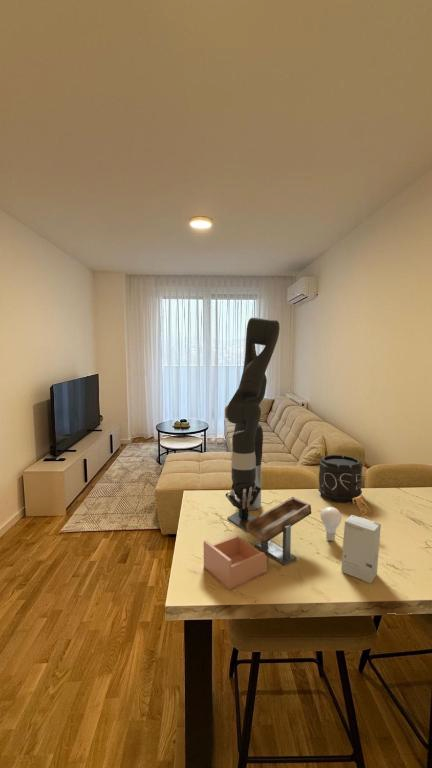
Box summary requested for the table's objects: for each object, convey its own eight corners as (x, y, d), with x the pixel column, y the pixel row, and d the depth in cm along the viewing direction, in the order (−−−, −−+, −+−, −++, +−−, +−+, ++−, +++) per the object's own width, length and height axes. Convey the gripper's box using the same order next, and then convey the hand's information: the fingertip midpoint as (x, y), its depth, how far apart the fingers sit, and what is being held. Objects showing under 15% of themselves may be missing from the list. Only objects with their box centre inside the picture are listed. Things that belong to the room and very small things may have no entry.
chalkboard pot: (341, 508, 142) (342, 469, 140) (309, 492, 158) (310, 457, 156) (372, 499, 150) (374, 462, 149) (339, 485, 166) (340, 452, 165)
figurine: (378, 531, 123) (379, 497, 122) (364, 535, 121) (365, 500, 120) (360, 521, 130) (361, 489, 129) (346, 524, 128) (347, 491, 127)
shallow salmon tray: (203, 568, 102) (203, 540, 102) (239, 553, 110) (239, 528, 109) (229, 590, 93) (229, 560, 92) (266, 572, 100) (266, 545, 99)
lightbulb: (340, 537, 119) (341, 505, 118) (340, 546, 113) (341, 513, 112) (320, 534, 121) (321, 502, 120) (319, 543, 115) (320, 510, 114)
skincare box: (341, 572, 100) (342, 520, 99) (348, 562, 105) (350, 513, 103) (372, 584, 95) (374, 530, 93) (379, 574, 99) (381, 522, 98)
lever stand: (266, 541, 117) (266, 510, 116) (296, 560, 106) (297, 525, 105) (254, 546, 114) (254, 514, 113) (284, 565, 103) (285, 530, 102)
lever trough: (272, 495, 127) (271, 487, 127) (311, 513, 113) (310, 504, 112) (227, 520, 116) (226, 511, 116) (264, 543, 102) (263, 533, 101)
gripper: (251, 458, 119) (251, 509, 120) (219, 466, 111) (219, 520, 113) (267, 464, 113) (267, 517, 114) (234, 472, 105) (234, 529, 107)
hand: (243, 519), depth 114 cm, fingers closed
